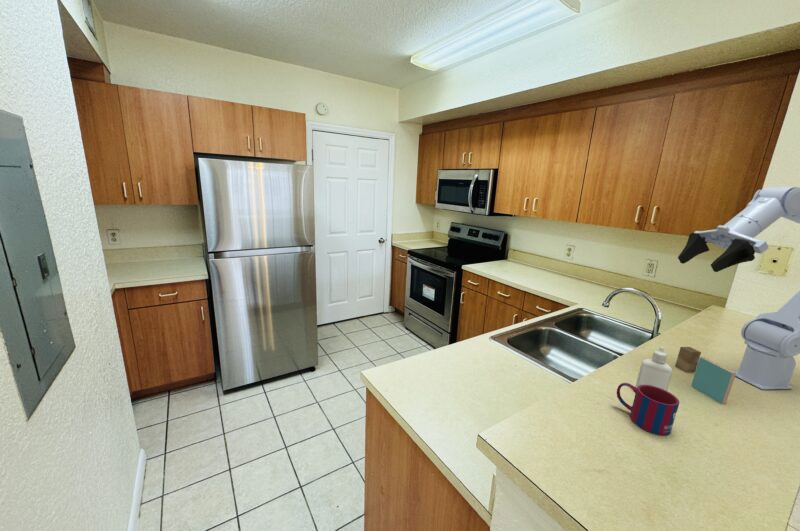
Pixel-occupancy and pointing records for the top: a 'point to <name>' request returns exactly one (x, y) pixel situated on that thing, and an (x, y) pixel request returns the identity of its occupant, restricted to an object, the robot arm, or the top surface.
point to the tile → (713, 380)
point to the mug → (652, 408)
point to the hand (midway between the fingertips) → (696, 264)
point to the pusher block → (687, 359)
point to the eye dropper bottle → (655, 371)
